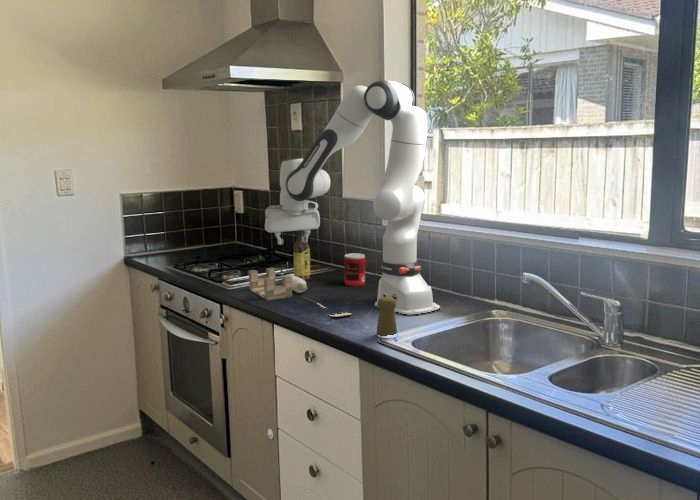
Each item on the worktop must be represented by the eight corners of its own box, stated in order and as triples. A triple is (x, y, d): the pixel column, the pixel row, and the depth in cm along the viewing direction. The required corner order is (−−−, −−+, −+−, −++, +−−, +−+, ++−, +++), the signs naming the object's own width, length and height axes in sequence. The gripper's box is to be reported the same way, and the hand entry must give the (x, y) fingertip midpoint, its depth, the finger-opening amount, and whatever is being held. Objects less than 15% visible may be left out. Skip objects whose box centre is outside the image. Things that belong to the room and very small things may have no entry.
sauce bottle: (307, 281, 254) (306, 229, 250) (292, 280, 255) (290, 228, 251) (312, 277, 260) (311, 226, 256) (296, 276, 261) (295, 226, 258)
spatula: (335, 321, 204) (335, 316, 204) (295, 299, 230) (295, 295, 229) (353, 318, 207) (353, 313, 207) (311, 297, 233) (311, 293, 232)
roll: (312, 292, 235) (308, 278, 234) (299, 297, 233) (296, 283, 232) (293, 282, 249) (290, 270, 248) (281, 287, 247) (278, 274, 246)
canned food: (361, 281, 253) (361, 252, 251) (368, 285, 246) (368, 256, 244) (341, 282, 251) (341, 253, 249) (348, 287, 243) (348, 258, 241)
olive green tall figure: (398, 338, 186) (399, 300, 184) (377, 339, 186) (377, 300, 184) (395, 331, 192) (395, 294, 190) (374, 332, 192) (374, 295, 190)
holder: (292, 297, 231) (291, 277, 230) (267, 300, 227) (267, 280, 225) (272, 286, 246) (271, 267, 245) (249, 289, 242) (248, 270, 241)
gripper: (269, 207, 227) (269, 247, 230) (322, 203, 238) (321, 242, 240) (261, 204, 233) (262, 244, 236) (313, 201, 243) (313, 239, 246)
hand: (292, 243), depth 238 cm, fingers open, 8 cm apart
